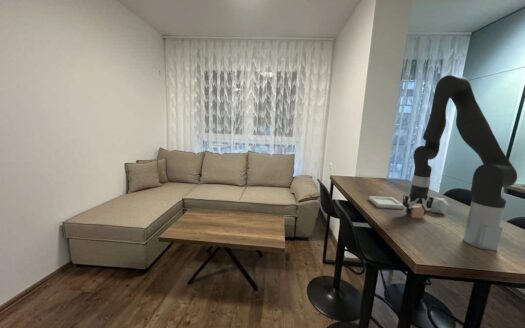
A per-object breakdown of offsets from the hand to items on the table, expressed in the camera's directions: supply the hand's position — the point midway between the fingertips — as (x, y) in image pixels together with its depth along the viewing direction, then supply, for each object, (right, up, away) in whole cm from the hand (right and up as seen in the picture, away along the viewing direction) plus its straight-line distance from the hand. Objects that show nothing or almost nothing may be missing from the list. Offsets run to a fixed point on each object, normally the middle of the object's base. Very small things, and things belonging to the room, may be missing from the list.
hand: (415, 214), depth 116 cm
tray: (-7, +3, +16) cm, 18 cm away
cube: (0, -1, 0) cm, 1 cm away
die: (+17, 0, +7) cm, 18 cm away
